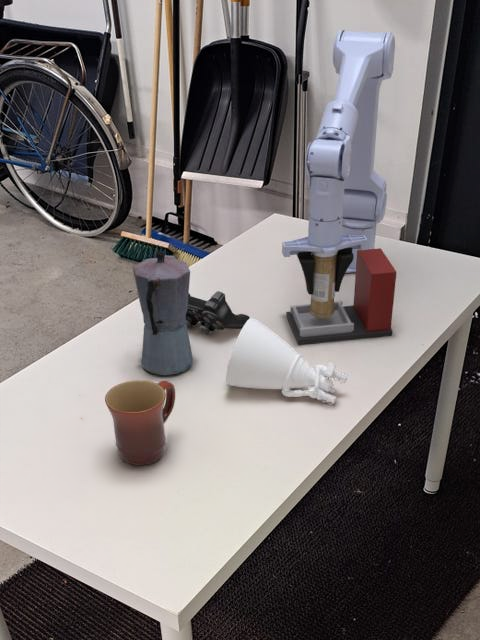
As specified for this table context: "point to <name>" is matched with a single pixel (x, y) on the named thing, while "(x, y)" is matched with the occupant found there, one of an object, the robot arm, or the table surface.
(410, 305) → the table surface
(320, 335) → the coffee maker
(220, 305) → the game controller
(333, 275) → the sprinkles bottle
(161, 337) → the moka pot
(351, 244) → the robot arm
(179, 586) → the table surface
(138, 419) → the mug
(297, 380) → the rocket engine
